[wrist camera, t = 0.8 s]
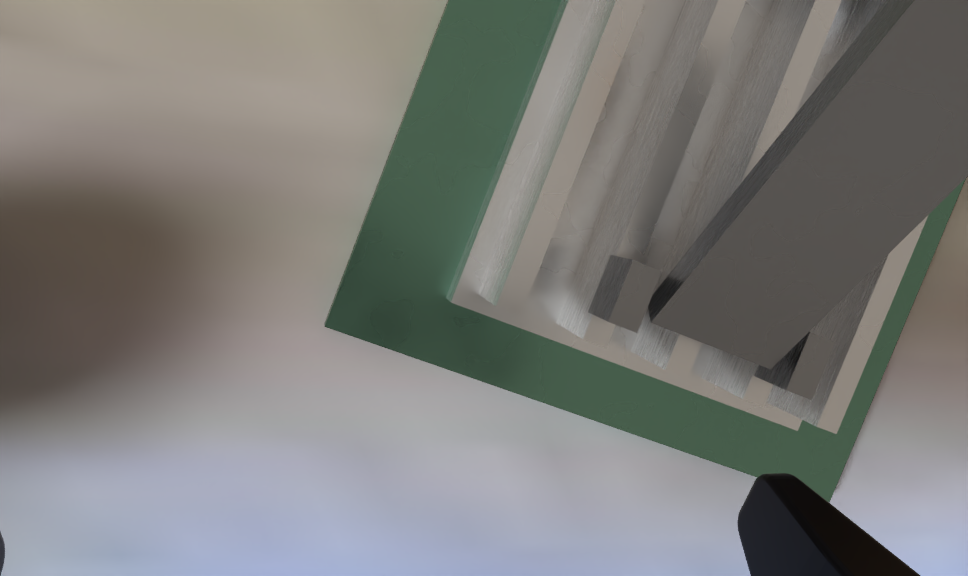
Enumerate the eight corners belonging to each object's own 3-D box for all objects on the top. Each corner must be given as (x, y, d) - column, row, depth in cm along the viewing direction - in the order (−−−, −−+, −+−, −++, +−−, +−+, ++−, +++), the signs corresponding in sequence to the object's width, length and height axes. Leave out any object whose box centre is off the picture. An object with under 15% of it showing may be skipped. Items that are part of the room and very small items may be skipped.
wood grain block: (763, 347, 20) (793, 436, 18) (647, 301, 19) (662, 388, 17) (1152, -48, 13) (1281, 11, 11) (999, -143, 13) (1105, -102, 10)
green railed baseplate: (818, 495, 26) (957, 582, 20) (324, 322, 22) (320, 369, 16) (1046, -49, 25) (1262, -122, 19) (575, -333, 21) (666, -534, 15)
